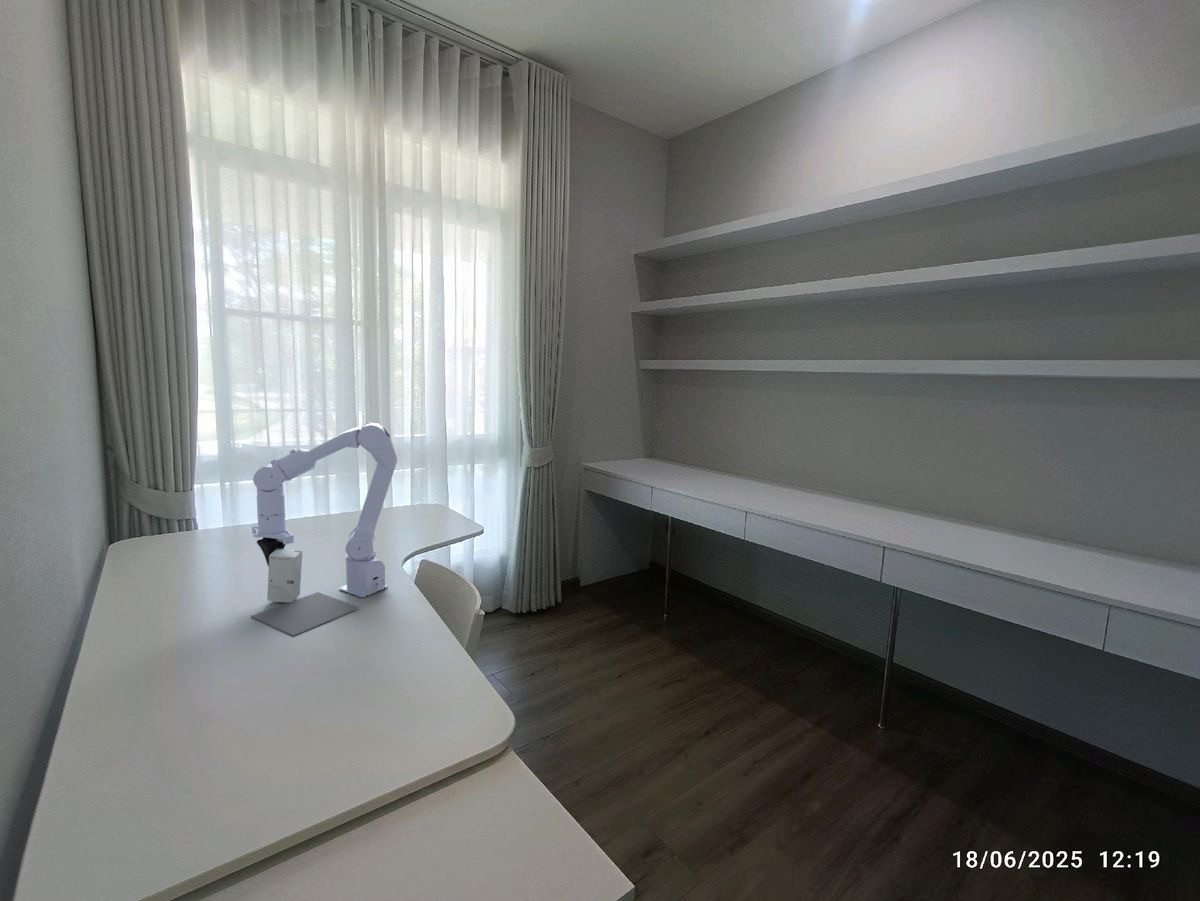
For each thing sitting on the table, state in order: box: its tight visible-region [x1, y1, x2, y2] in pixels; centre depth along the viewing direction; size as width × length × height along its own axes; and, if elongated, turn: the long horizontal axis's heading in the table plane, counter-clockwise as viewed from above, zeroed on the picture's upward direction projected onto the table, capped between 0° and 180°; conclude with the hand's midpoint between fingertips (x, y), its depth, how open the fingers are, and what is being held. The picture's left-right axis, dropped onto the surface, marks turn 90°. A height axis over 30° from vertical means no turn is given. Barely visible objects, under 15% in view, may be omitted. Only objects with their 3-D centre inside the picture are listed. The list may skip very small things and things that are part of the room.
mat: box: [250, 591, 360, 637], centre depth 120 cm, size 16×16×1 cm
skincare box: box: [266, 548, 303, 603], centre depth 125 cm, size 6×4×12 cm
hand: (273, 566), depth 127 cm, fingers closed
